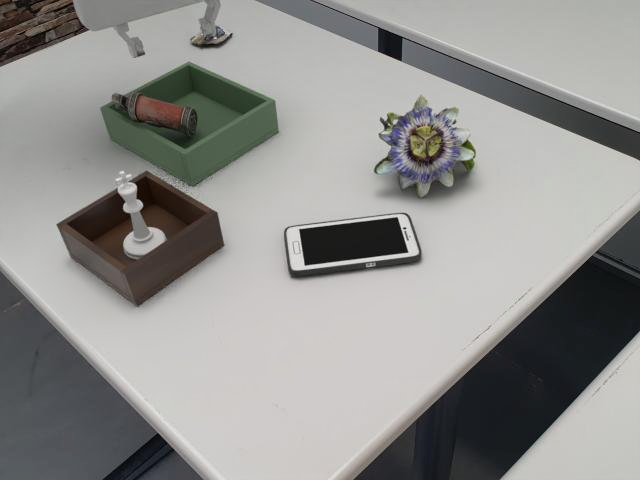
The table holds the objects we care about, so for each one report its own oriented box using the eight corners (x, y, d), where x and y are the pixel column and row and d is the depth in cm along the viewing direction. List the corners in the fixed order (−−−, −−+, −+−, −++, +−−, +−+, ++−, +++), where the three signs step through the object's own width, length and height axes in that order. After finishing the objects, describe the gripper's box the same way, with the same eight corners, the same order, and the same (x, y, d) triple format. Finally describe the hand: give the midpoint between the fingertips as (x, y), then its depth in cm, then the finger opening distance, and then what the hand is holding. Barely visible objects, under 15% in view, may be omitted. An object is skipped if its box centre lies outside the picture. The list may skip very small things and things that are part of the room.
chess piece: (173, 249, 78) (152, 176, 71) (132, 265, 77) (106, 192, 69) (158, 225, 81) (136, 153, 74) (118, 241, 79) (91, 168, 72)
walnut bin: (70, 256, 79) (55, 224, 76) (156, 202, 85) (146, 170, 82) (137, 307, 73) (124, 274, 70) (224, 245, 79) (217, 212, 76)
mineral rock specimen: (187, 49, 112) (185, 38, 110) (195, 27, 117) (193, 16, 116) (228, 48, 111) (227, 36, 110) (235, 25, 117) (233, 14, 115)
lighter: (193, 140, 94) (120, 120, 93) (199, 115, 94) (125, 95, 93) (185, 130, 86) (105, 108, 85) (192, 103, 86) (111, 81, 85)
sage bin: (109, 138, 95) (99, 107, 92) (195, 91, 103) (188, 61, 99) (192, 186, 87) (184, 154, 83) (279, 131, 94) (275, 99, 91)
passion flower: (420, 228, 88) (369, 181, 79) (401, 166, 93) (352, 116, 84) (501, 182, 83) (456, 127, 74) (475, 119, 88) (431, 61, 79)
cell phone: (283, 232, 80) (282, 226, 79) (408, 217, 81) (409, 211, 80) (289, 279, 75) (288, 272, 74) (423, 262, 75) (423, 255, 75)
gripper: (222, -107, 80) (239, 13, 91) (48, -66, 74) (87, 57, 85) (245, -92, 76) (260, 31, 87) (63, -48, 71) (103, 78, 81)
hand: (173, 44), depth 86 cm, fingers open, 8 cm apart
